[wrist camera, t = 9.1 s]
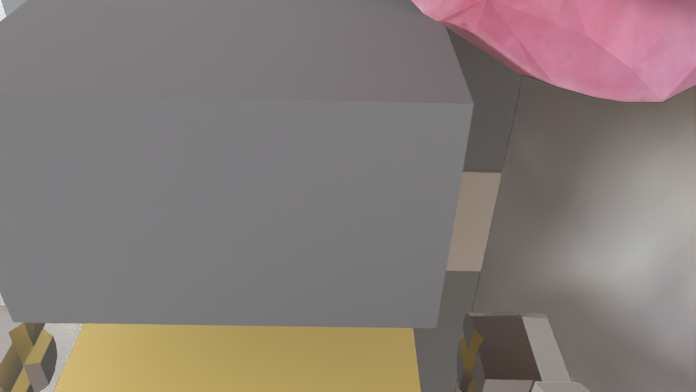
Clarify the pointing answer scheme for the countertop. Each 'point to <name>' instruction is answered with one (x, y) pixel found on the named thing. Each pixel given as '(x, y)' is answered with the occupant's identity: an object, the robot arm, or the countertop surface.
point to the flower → (584, 42)
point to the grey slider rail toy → (248, 166)
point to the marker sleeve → (240, 359)
